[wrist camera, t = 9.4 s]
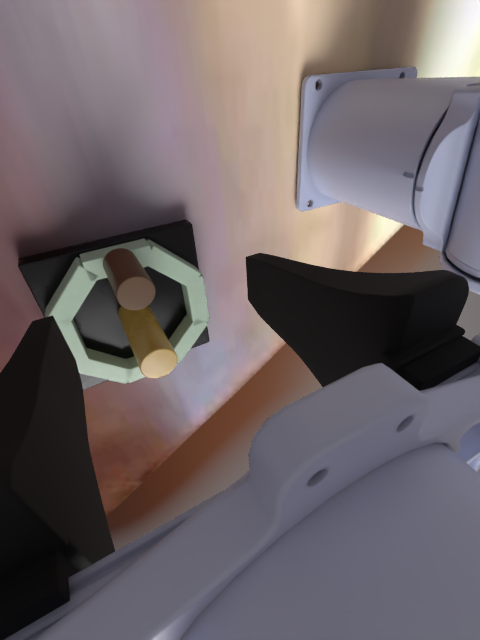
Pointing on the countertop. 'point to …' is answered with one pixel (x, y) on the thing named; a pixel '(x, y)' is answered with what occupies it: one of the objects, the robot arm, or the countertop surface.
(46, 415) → the robot arm
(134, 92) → the countertop surface
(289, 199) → the countertop surface
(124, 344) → the peg stand
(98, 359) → the ring
